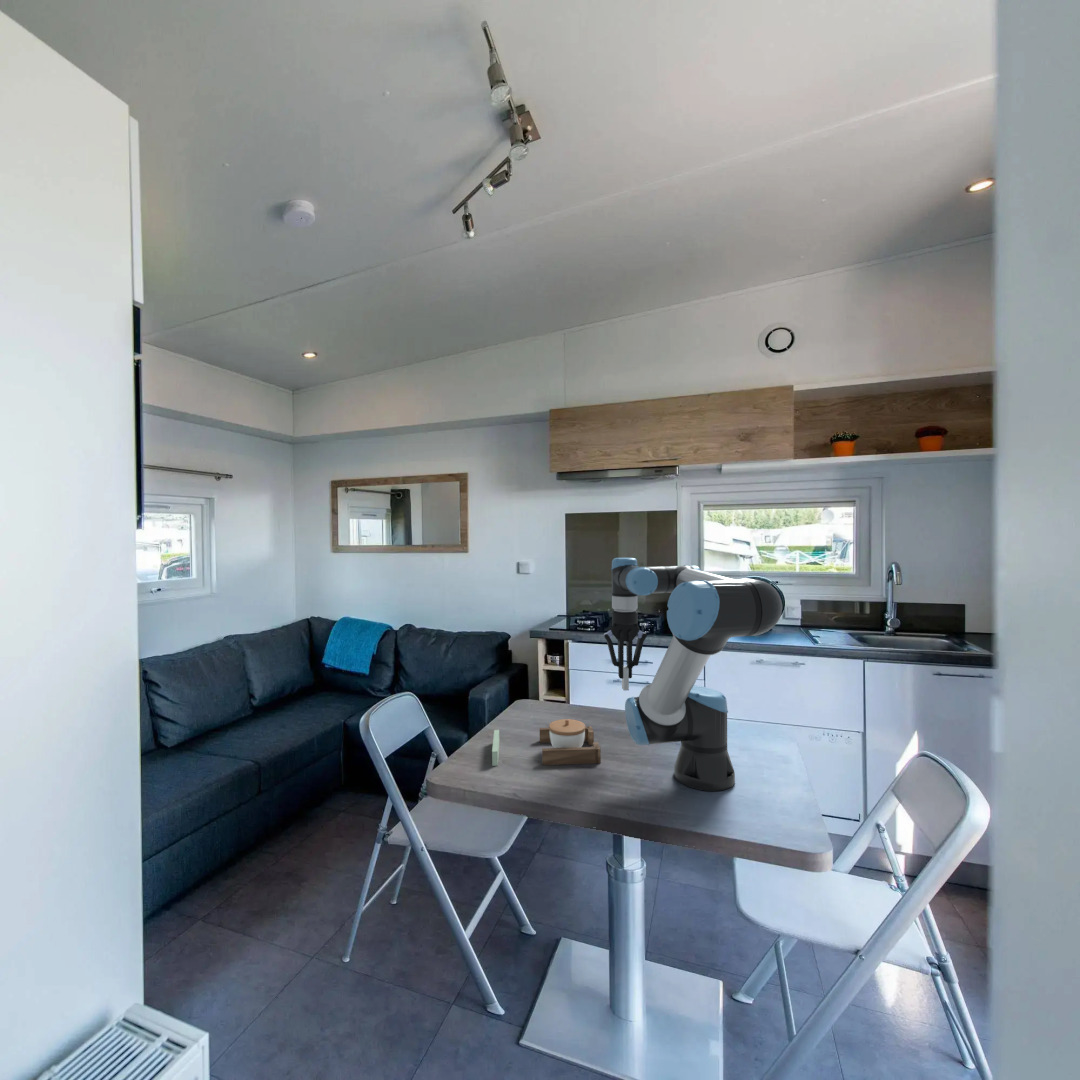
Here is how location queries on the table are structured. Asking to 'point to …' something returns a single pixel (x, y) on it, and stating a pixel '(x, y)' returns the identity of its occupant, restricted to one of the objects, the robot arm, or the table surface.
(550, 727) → the lidded jar
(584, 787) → the table surface
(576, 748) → the cradle
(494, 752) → the rail
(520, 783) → the table surface
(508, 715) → the table surface
